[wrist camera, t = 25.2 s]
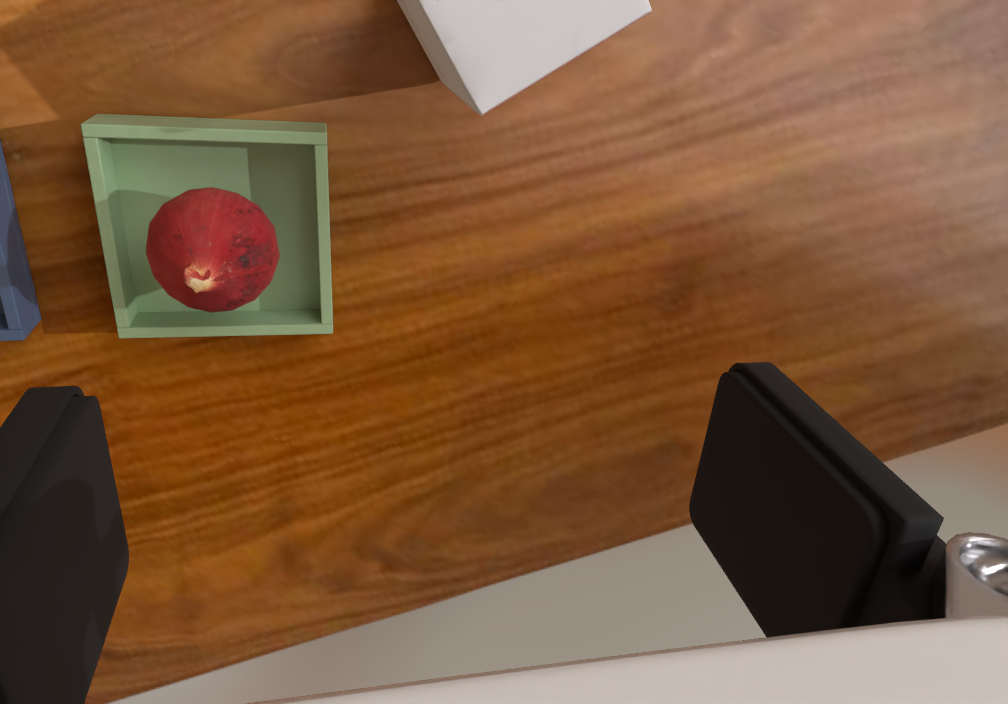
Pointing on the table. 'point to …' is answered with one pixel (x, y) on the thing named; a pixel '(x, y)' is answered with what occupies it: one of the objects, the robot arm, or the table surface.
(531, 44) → the small box
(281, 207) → the green tray
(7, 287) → the slate tray
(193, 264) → the onion
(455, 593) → the table surface
